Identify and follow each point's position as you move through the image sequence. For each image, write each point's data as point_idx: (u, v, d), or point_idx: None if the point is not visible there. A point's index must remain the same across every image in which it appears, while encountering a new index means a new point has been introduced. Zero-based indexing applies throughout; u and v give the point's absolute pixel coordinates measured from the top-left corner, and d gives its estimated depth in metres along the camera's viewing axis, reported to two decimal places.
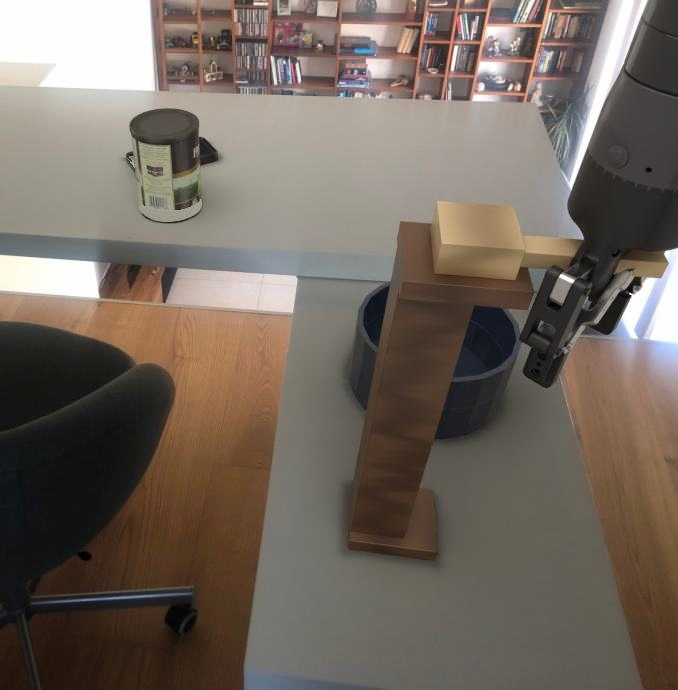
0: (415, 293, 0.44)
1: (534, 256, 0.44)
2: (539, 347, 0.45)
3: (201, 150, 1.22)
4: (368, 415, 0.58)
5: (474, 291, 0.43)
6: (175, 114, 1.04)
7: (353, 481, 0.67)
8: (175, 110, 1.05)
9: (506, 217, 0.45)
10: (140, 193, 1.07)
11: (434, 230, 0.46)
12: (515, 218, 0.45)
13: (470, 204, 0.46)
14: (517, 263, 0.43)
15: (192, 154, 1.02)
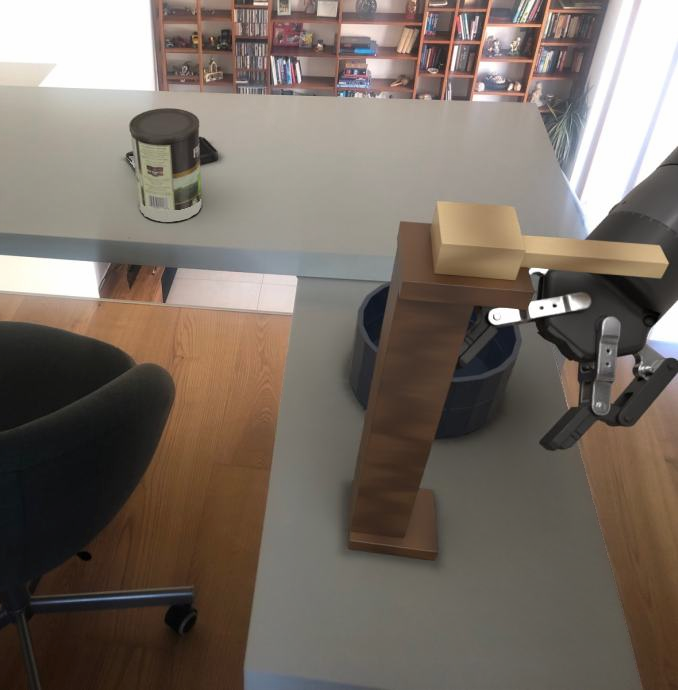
0: (415, 293, 0.44)
1: (534, 256, 0.44)
2: None
3: (201, 150, 1.22)
4: (368, 415, 0.58)
5: (474, 291, 0.43)
6: (175, 114, 1.04)
7: (353, 481, 0.67)
8: (175, 110, 1.05)
9: (506, 217, 0.45)
10: (140, 193, 1.07)
11: (434, 230, 0.46)
12: (515, 218, 0.45)
13: (470, 204, 0.46)
14: (517, 263, 0.43)
15: (192, 154, 1.02)
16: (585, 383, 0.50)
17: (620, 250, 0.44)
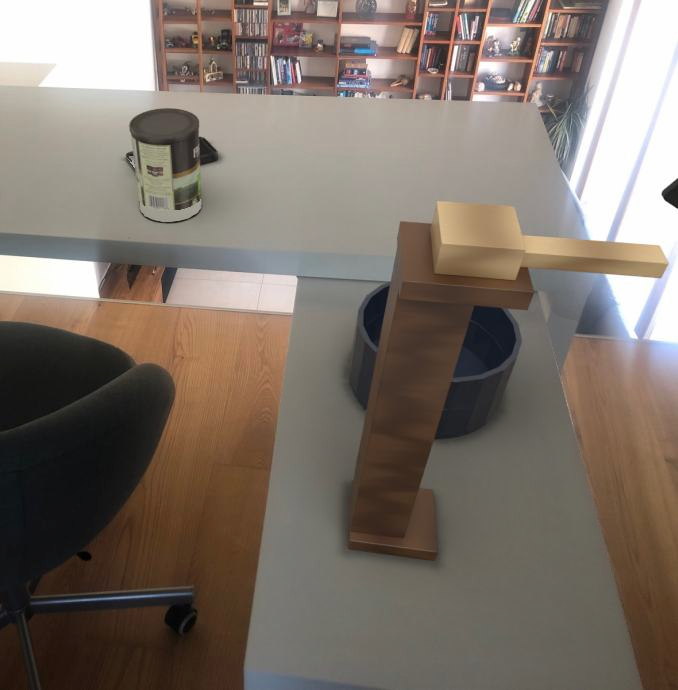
0: (415, 293, 0.44)
1: (534, 256, 0.44)
2: None
3: (201, 150, 1.22)
4: (368, 415, 0.58)
5: (474, 291, 0.43)
6: (175, 114, 1.04)
7: (353, 481, 0.67)
8: (175, 110, 1.05)
9: (506, 217, 0.45)
10: (140, 193, 1.07)
11: (434, 230, 0.46)
12: (515, 218, 0.45)
13: (470, 204, 0.46)
14: (517, 263, 0.43)
15: (192, 154, 1.02)
16: None
17: (620, 250, 0.44)
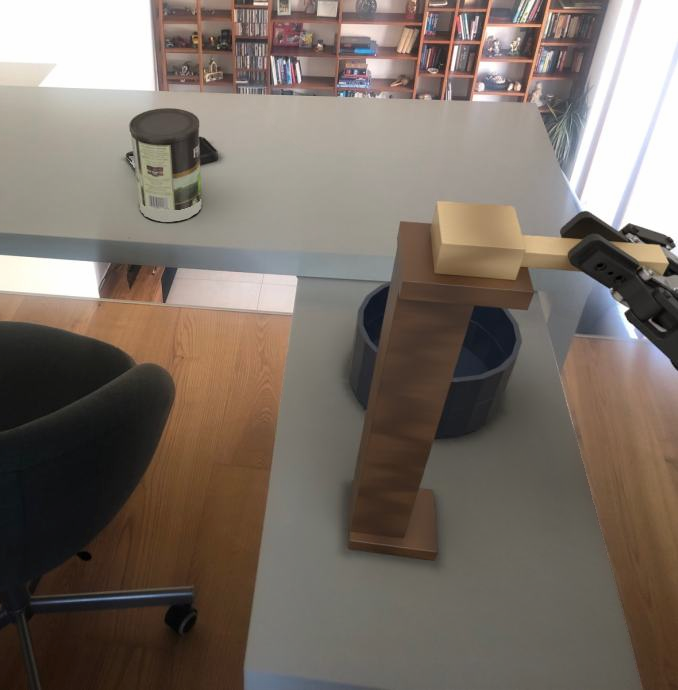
0: (415, 293, 0.44)
1: (534, 256, 0.44)
2: None
3: (201, 150, 1.22)
4: (368, 415, 0.58)
5: (474, 291, 0.43)
6: (175, 114, 1.04)
7: (353, 481, 0.67)
8: (175, 110, 1.05)
9: (506, 217, 0.45)
10: (140, 193, 1.07)
11: (434, 230, 0.46)
12: (515, 218, 0.45)
13: (470, 204, 0.46)
14: (517, 263, 0.43)
15: (192, 154, 1.02)
16: None
17: None
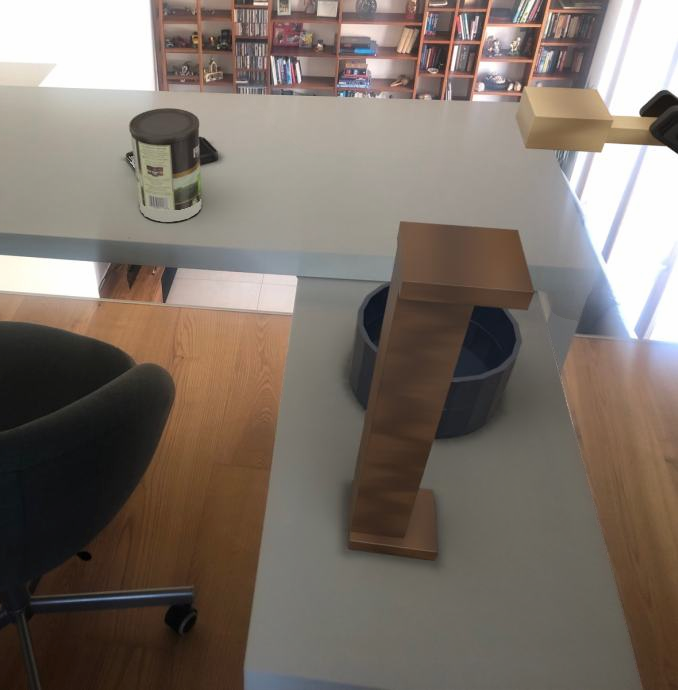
0: (415, 293, 0.44)
1: (618, 131, 0.48)
2: None
3: (201, 150, 1.22)
4: (368, 415, 0.58)
5: (474, 291, 0.43)
6: (175, 114, 1.04)
7: (353, 481, 0.67)
8: (175, 110, 1.05)
9: (591, 97, 0.48)
10: (140, 193, 1.07)
11: (522, 112, 0.50)
12: (599, 97, 0.48)
13: (556, 88, 0.50)
14: (604, 134, 0.47)
15: (192, 154, 1.02)
16: None
17: None
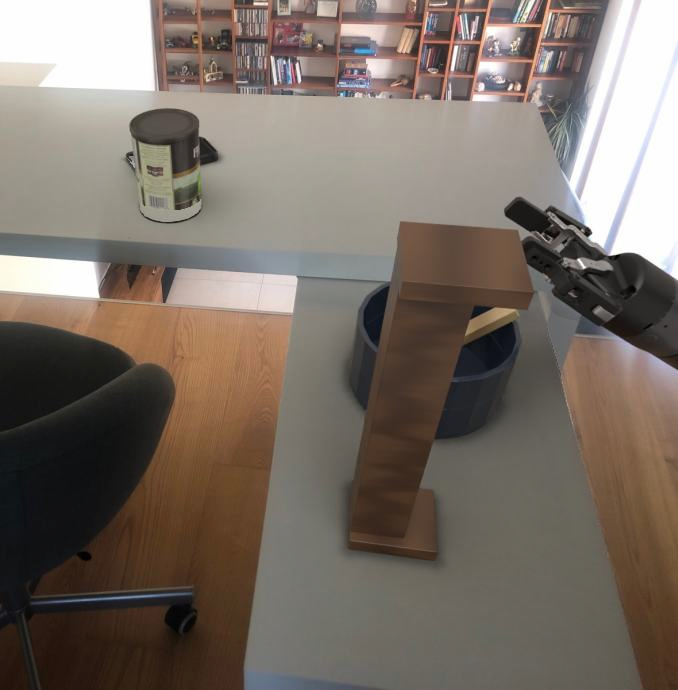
0: (415, 293, 0.44)
1: None
2: None
3: (201, 150, 1.22)
4: (368, 415, 0.58)
5: (474, 291, 0.43)
6: (175, 114, 1.04)
7: (353, 481, 0.67)
8: (175, 110, 1.05)
9: None
10: (140, 193, 1.07)
11: None
12: None
13: None
14: None
15: (192, 154, 1.02)
16: None
17: (490, 316, 0.76)
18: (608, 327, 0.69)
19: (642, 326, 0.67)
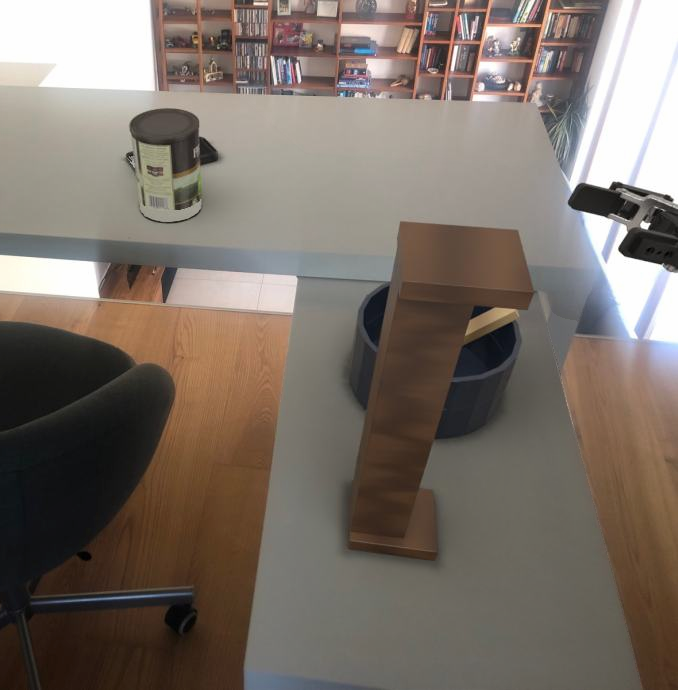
0: (415, 293, 0.44)
1: None
2: None
3: (201, 150, 1.22)
4: (368, 415, 0.58)
5: (474, 291, 0.43)
6: (175, 114, 1.04)
7: (353, 481, 0.67)
8: (175, 110, 1.05)
9: None
10: (140, 193, 1.07)
11: None
12: None
13: None
14: None
15: (192, 154, 1.02)
16: None
17: (490, 316, 0.76)
18: None
19: None
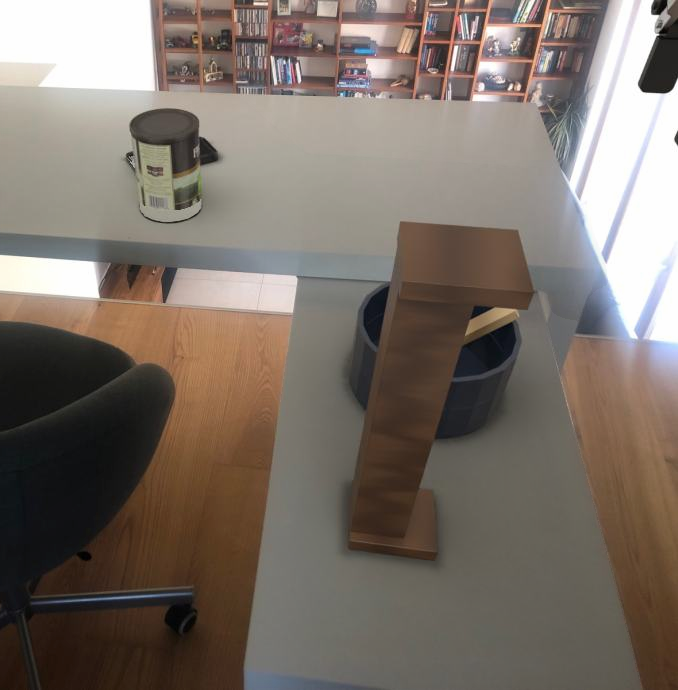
0: (415, 293, 0.44)
1: None
2: None
3: (201, 150, 1.22)
4: (368, 415, 0.58)
5: (474, 291, 0.43)
6: (175, 114, 1.04)
7: (353, 481, 0.67)
8: (175, 110, 1.05)
9: None
10: (140, 193, 1.07)
11: None
12: None
13: None
14: None
15: (192, 154, 1.02)
16: None
17: (490, 316, 0.76)
18: None
19: None
